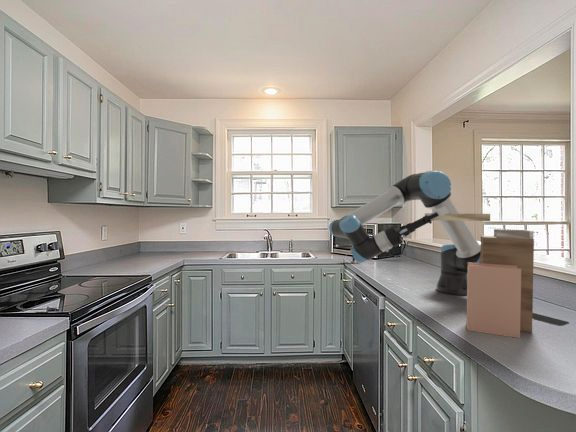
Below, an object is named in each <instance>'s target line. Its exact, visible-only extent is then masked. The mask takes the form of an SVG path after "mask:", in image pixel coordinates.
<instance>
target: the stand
mask: <svg viewBox="0 0 576 432" xmlns="http://www.w3.org/2000/svg"><path fill="white" fill-rule="evenodd" d="M480 242H481V250H480V263H485V264H500V265H514V266H517V268H518V269H521V311H520V332H521V331H522V332H523V331H524V332H530V333H533V319H532V313H534V312H533V309H534V306H533V301H534V299H533V297H534V295H533V294H534V257H535V256H534V253H535V250H534V248H535V247H534V246H535V239H534V230H531V229H529V230H528V229H502V228H501V229H500V228H499V229H498V228H494V229H493V235H480Z"/></svg>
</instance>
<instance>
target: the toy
mask: <svg viewBox="0 0 576 432" xmlns="http://www.w3.org/2000/svg"><path fill="white" fill-rule="evenodd" d="M352 247H353V245H352V244H351V248H352ZM349 254H351V255H352V252H351V249H350V250H349V251H348V252H346V254H345V256H347V255H349ZM351 258H352V261H351V263H352V264H355V263H356V264H360V263H359V262H357V261H356V260H355V258H354V256H353V255H352V257H351Z"/></svg>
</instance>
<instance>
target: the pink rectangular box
mask: <svg viewBox="0 0 576 432" xmlns="http://www.w3.org/2000/svg"><path fill="white" fill-rule="evenodd" d="M520 311H521V269H518V268H517V266H514V265H500V264H485V263H471V262H468V271H467V295H466V328H467V331H471V332H478V333H485V334H491V335H498V336H502V337H503V336H505V337H510V338H515V339H516V338H518V339H521V330H520Z"/></svg>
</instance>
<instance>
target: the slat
mask: <svg viewBox="0 0 576 432" xmlns="http://www.w3.org/2000/svg"><path fill="white" fill-rule="evenodd" d="M428 214H430V213H429V212H427V213H426V212H425V213H424V216H427V215H428ZM438 220H448V221H464V222H466V221H467V222H491V213H459V214H445V215H443V216H441V217H439V218H437V219H435V220H434V221H438Z"/></svg>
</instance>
